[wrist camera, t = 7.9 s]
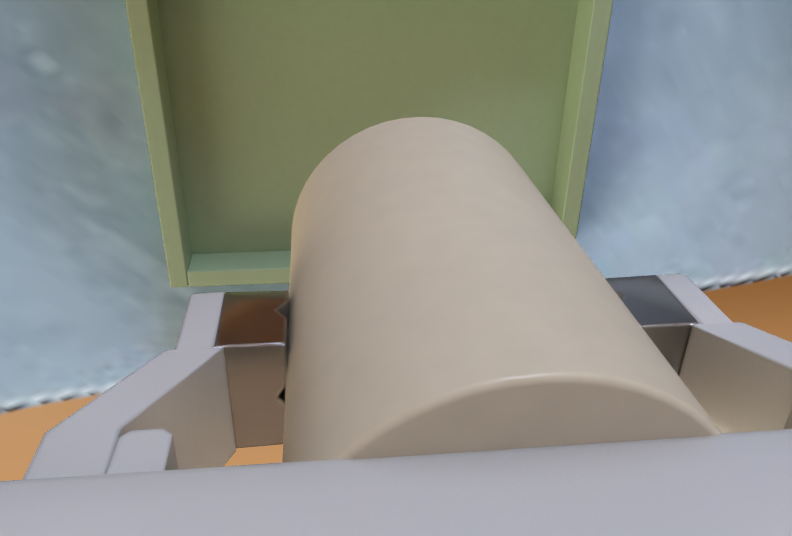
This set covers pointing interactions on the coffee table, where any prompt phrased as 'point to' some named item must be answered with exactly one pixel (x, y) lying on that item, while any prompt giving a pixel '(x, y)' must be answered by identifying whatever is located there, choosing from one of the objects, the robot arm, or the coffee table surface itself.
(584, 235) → the coffee table surface
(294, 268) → the candle
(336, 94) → the tray
